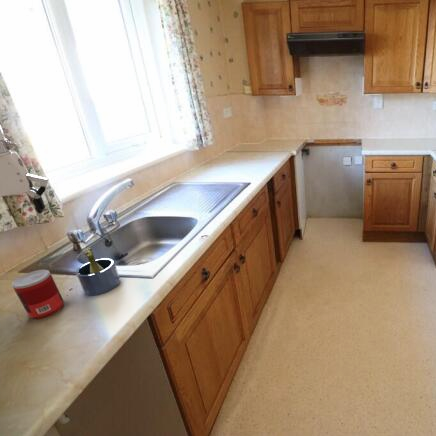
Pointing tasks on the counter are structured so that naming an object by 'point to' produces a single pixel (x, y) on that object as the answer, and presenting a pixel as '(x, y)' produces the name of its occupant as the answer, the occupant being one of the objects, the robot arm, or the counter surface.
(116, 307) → the counter surface
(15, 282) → the canned food
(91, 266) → the fennel bulb
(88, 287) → the crock
